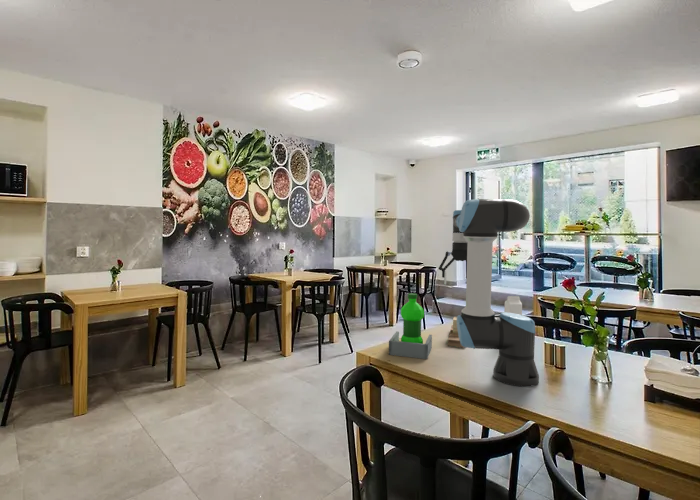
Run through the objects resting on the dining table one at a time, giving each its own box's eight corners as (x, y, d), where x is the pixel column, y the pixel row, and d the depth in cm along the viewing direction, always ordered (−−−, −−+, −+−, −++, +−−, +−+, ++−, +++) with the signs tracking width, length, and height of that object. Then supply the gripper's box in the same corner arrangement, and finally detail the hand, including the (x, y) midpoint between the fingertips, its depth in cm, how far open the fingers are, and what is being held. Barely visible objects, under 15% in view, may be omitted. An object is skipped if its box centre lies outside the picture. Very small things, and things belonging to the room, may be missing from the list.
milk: (503, 339, 184) (504, 295, 183) (515, 339, 184) (516, 295, 183) (508, 343, 178) (509, 297, 177) (521, 343, 178) (522, 297, 177)
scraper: (465, 347, 170) (466, 326, 170) (447, 345, 173) (448, 324, 172) (467, 332, 197) (467, 313, 196) (451, 330, 200) (452, 312, 199)
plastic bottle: (422, 353, 161) (422, 296, 160) (397, 351, 165) (398, 295, 163) (425, 347, 171) (425, 293, 170) (402, 344, 174) (402, 291, 173)
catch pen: (427, 359, 155) (427, 345, 155) (388, 354, 160) (388, 340, 160) (431, 347, 170) (431, 334, 170) (396, 344, 175) (396, 331, 175)
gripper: (487, 242, 182) (486, 285, 183) (435, 241, 190) (434, 282, 191) (487, 242, 175) (486, 287, 176) (433, 241, 183) (432, 284, 184)
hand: (459, 285), depth 184 cm, fingers open, 13 cm apart
